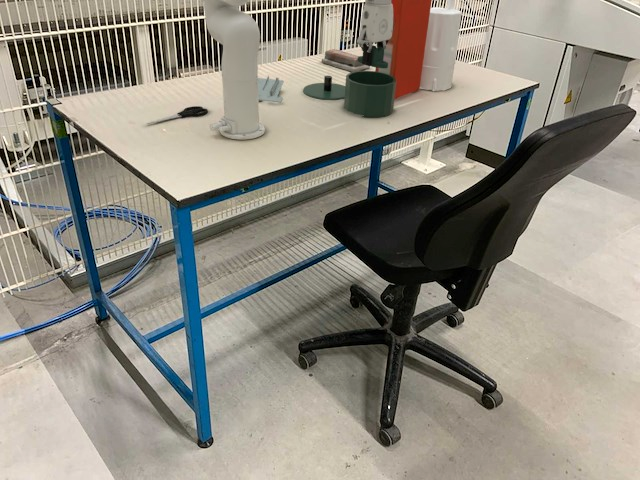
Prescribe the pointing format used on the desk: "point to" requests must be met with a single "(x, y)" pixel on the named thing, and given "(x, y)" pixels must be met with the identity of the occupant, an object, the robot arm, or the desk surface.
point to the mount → (376, 58)
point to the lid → (325, 90)
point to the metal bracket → (269, 89)
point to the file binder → (407, 44)
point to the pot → (370, 93)
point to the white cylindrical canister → (440, 47)
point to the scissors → (187, 113)
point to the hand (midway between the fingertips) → (372, 62)
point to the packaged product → (343, 60)
